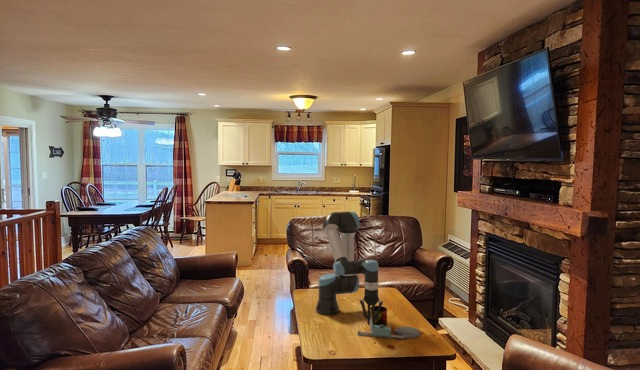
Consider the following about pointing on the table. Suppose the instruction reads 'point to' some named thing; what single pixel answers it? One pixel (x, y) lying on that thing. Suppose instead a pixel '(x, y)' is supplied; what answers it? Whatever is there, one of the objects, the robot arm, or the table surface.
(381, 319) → the mug
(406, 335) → the coaster
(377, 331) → the latch block
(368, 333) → the rail
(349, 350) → the table surface
